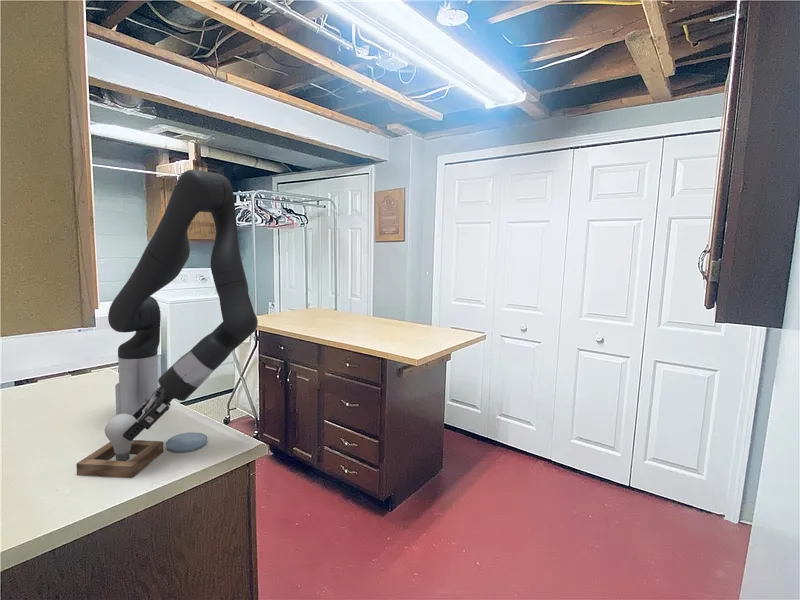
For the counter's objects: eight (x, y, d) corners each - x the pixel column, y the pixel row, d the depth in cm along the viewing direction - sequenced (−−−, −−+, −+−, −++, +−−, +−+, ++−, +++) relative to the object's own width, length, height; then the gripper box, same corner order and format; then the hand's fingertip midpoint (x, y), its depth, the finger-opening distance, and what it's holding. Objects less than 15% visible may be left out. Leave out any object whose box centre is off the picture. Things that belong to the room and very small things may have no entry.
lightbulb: (144, 461, 95) (143, 413, 94) (115, 472, 90) (113, 422, 88) (129, 453, 98) (128, 407, 97) (100, 464, 93) (98, 415, 91)
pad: (157, 451, 99) (157, 447, 99) (178, 435, 108) (178, 431, 108) (196, 454, 99) (196, 449, 99) (213, 437, 108) (213, 433, 108)
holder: (76, 475, 88) (76, 463, 88) (114, 449, 100) (114, 438, 99) (132, 478, 88) (131, 466, 88) (163, 451, 99) (163, 441, 99)
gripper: (175, 356, 102) (120, 408, 98) (172, 373, 89) (108, 433, 86) (200, 376, 105) (147, 427, 101) (200, 395, 92) (139, 454, 89)
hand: (129, 430), depth 93 cm, fingers open, 8 cm apart
